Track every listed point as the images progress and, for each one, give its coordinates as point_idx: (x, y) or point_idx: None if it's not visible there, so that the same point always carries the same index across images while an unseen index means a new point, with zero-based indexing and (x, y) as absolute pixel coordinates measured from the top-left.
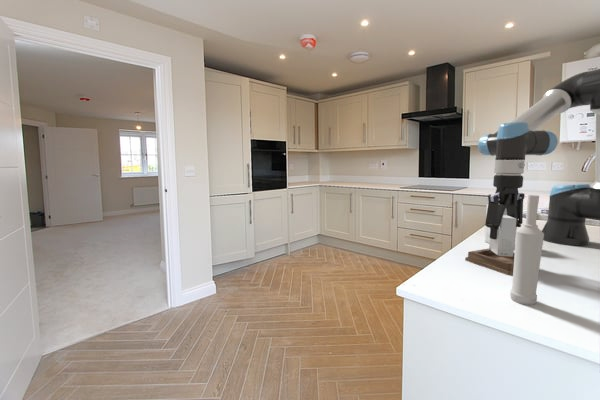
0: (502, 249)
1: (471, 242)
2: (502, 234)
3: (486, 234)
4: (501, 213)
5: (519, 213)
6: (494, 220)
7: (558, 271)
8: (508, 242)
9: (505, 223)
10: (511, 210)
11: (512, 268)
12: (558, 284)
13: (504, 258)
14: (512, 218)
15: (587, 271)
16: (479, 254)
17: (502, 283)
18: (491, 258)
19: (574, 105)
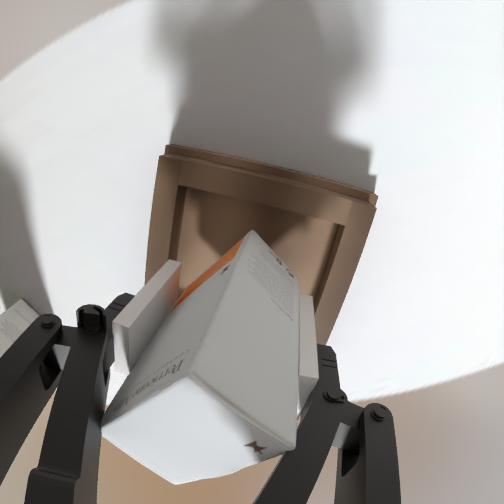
0: (288, 283)
1: None
2: (290, 341)
3: None
4: (299, 494)
5: (21, 381)
6: (385, 449)
7: (146, 85)
8: (266, 283)
9: (277, 395)
10: (89, 458)
11: (338, 193)
12: (324, 34)
13: (192, 270)
14: (219, 401)
15: (72, 45)
16: (316, 340)
17: (474, 180)
18: (342, 288)
19: None
